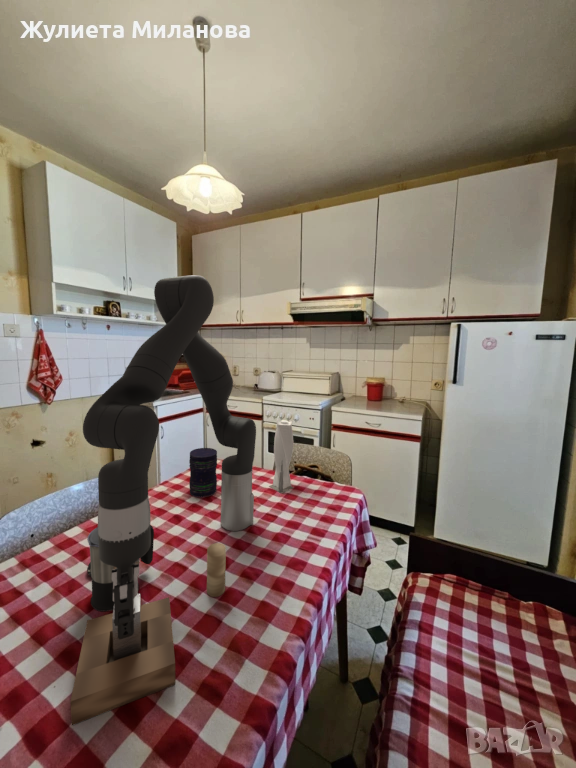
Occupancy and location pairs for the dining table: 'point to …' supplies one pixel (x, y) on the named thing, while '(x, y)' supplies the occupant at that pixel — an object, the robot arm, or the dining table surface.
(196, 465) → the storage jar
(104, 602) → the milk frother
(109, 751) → the dining table surface
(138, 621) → the square peg
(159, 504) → the dining table surface
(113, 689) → the bore block
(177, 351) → the robot arm
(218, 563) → the round dowel
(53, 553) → the dining table surface
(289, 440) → the skyscraper
